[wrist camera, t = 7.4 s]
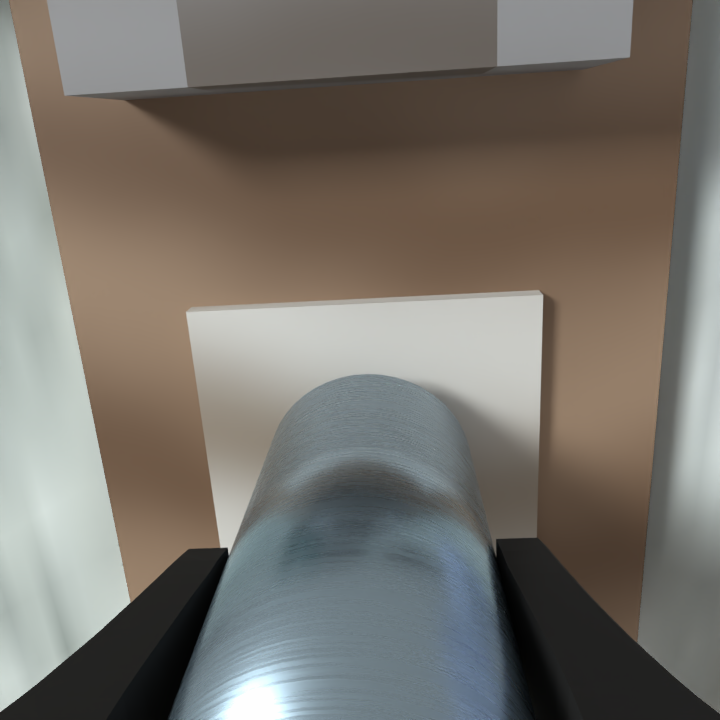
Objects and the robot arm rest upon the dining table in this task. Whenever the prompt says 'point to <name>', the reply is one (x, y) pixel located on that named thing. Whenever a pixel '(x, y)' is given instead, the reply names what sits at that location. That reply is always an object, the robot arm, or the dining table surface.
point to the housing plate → (368, 244)
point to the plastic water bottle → (360, 574)
